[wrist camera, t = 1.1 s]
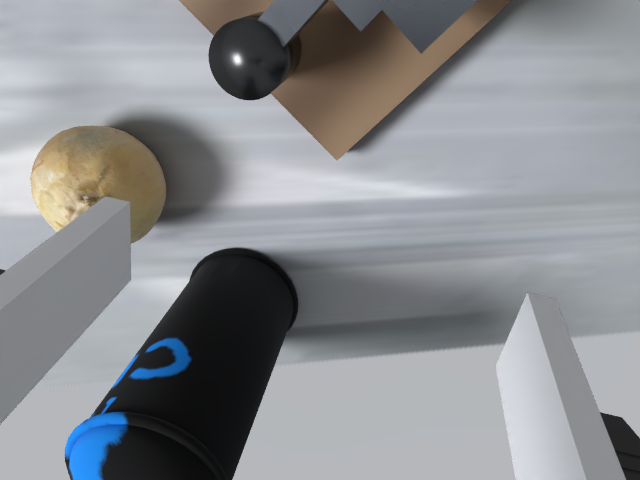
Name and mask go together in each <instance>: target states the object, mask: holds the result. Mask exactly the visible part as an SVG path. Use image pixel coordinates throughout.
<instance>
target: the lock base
mask: <svg viewBox="0 0 640 480" xmlns="http://www.w3.org/2000/svg"><path fill="white" fill-rule="evenodd" d="M179 1H180V2H181V3H182V4H183V5H184V6H185V7H186V8H187V9H188V10H189V11H190V12H191V13H192V14H193V15H194V16H195V17H196V18H197V19H198V20H199V21H200V22H201V23H202V24H203V25H204V26H205V27H206V28H207V29H208V30H209V31H210V32H211V33H212V34H213V35H215V33H216V32H217V31H218V30H219V29H220V28H221V27H222V26H223V25H224V24H226V23H228V22H230V21H233V20H236V19H239V18H242V17H245V16H249V15H252V14H255V13H258V12H265V11H266V9H267V8H268V7H269V6H270V5H271V3H272V2H273V1H274V0H179ZM511 1H512V0H477V1H476V2H475V3H474V4H473V5H472V6H471V7H470V8H469V9H468V10H467V11H466V12H465V13H464V14H463V15H462V16H461V17H459V18H458V19H457V20H456V21H455V22H454V23H453V24H452V25H451V26H450V27H449V28H448V29H447V30H446V31H445V32H444V33H443V34H442V35H440V36H439V37H438V38H437V39H436V40H435V41H434V42H433V43H432V44H431V45H430V46H429V47H428V48H427V49H426V50H425V51H424V52H423V53H420V52H419V51H418V50H417V49H416V48H415V47H414V45H413V44H412V43H411V42H410V41H409V40H408V39H407V37H406V36H405V35H404V34H403V33H402V32H401V31H400V30H399V28H398V27H397V26H396V25H395V24H394V23H393V22H392V20H391V19H390V18H389V17H388V16H387V15H386V14H385V13H384V11H383V10H381V11H380V12H379V13H378V14H377V15H376V16H375V17H374V18H373V19H372V20H371V22H370V23H369V24H368V25H367V26H366V27H365V28H364V29H363V30H362V31H361V32H360V30H359V29H358V28H357V27H356V26H355V25H354V24H353V23H352V22H351V20H350V19H349V18H348V17H347V16H346V15H345V14H344V13H343V12H342V11H341V9H340V8H339V7H338V6H337V5H336V4H335V3H334V2H333V1H332V0H329V1H328V2H327V3H326V4H325V5H324V6H323V8H322V9H321V10H320V11H319V12H318V13H317V14H316V15H315V16H314V18H313V19H312V20H311V21H310V22H309V23H308V24H307V25H306V26H305V28H304V29H303V30H302V31H301V32H300V33H299V37H300V40H301V46H302V54H301V59H300V63H299V65H298V67H297V69H296V70H295V72H294V73H293V74H292V75H291V76H290V77H289V78H288V79H286V80H285V81H284V82H283V83H282V84H281V85H279V86H278V87H277V88H276V89H275V90H274V91H272V92H271V94H272V95H273V96H274V97H275V98H276V99H277V100H278V101H279V102H280V103H281V104H282V105H283V106H284V107H285V108H286V109H287V110H288V111H289V112H290V113H291V114H292V116H293V117H294V118H295V119H296V120H297V121H298V122H299V123H300V124H301V125H302V126H303V127H304V128H305V129H306V130H307V131H308V132H309V133H310V134H311V135H312V136H313V137H314V138H315V139H316V140H317V141H318V142H319V143H320V144H321V145H322V146H323V147H324V148H325V149H326V150H327V151H328V152H329V153H330V154H331V155H332V156H333V157H334V158H335V159H336V160H338V159H339V158H340V157H341V156H343V155H344V154H345V153H346V152H347V151H348V150H349V149H350V148H351V147H352V146H353V145H355V144H356V143H357V142H358V141H359V140H360V139H361V138H362V137H363V136H364V135H365V134H367V133H368V132H369V131H370V130H371V129H372V128H373V127H374V126H375V125H376V124H378V123H379V122H380V121H381V120H382V119H383V118H384V117H385V116H386V115H387V114H388V113H390V112H391V111H392V110H393V109H394V108H395V107H396V106H397V105H398V104H399V103H400V102H402V101H403V100H404V99H405V98H406V97H407V96H408V95H409V94H410V93H411V92H412V91H414V90H415V89H416V88H417V87H418V86H419V85H420V84H421V83H422V82H423V81H425V80H426V79H427V78H428V77H429V76H430V75H431V74H432V73H433V72H434V71H435V70H437V69H438V68H439V67H440V66H441V65H442V64H443V63H444V62H445V61H446V60H447V59H449V58H450V57H451V56H452V55H453V54H454V53H455V52H456V51H457V50H458V49H459V48H461V47H462V46H463V45H464V44H465V43H466V42H467V41H468V40H469V39H470V38H472V37H473V36H474V35H475V34H476V33H477V32H478V31H479V30H480V29H481V28H482V27H484V26H485V25H486V24H487V23H488V22H489V21H490V20H491V19H492V18H493V17H494V16H496V15H497V14H498V13H499V12H500V11H501V10H502V9H503V8H504V7H505V6H506V5H508V4H509V3H510V2H511Z"/></svg>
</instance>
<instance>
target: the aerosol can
mask: <svg viewBox="0 0 640 480" xmlns="http://www.w3.org/2000/svg"><path fill="white" fill-rule="evenodd" d="M297 311H298V299H297V294H296V290H295V288H294V286H293V284H292V281H291V280H290V278H289V277H288V276H287V274H286V273H285V272H284V271H283V270H282V269H281V268H280V267H279V266H278V265H277V264H276V263H274V262H273V261H271V260H270V259H269V258H267V257H265V256H263V255H261V254H258V253H256V252H252V251H249V250H243V249H224V250H221V251H217V252H214V253H212V254H210V255H208V256H206V257H205V258H204V259H202V260H201V261H200V262H199V263H198V264H197V266H196V267H195V268H194V270H193V272H192V275H191V277H190V281H189V283H188V284H187V286H186V287H185V288H184V290H183V291H182V292H181V294H180V295H179V297H178V298H177V299H176V301H175V302H174V303H173V305H172V306H171V308H170V309H169V310H168V312H167V313H166V314H165V316H164V317H163V318H162V320H161V321H160V323H159V324H158V325H157V327H156V328H155V329H154V331H153V332H152V333H151V335H150V336H149V338H148V339H147V340H146V342H145V343H144V344H143V346H142V347H141V349H140V350H139V351H138V353H137V354H136V355H135V357H134V358H133V359H132V361H131V362H130V364H129V365H128V366H127V368H126V369H125V370H124V372H123V373H122V375H121V376H120V377H119V379H118V380H117V381H116V383H115V384H114V386H113V387H112V388H111V390H110V391H109V392H108V394H107V395H106V396H105V398H104V399H103V401H102V402H101V403H100V405H99V406H98V407H97V409H96V410H95V412H94V413H93V414H92V416H91V417H90V418H89V419H87V420H85V421H84V422H83V423H81V424H80V425H79V426H77V427H76V428H75V429H74V430H73V432H72V433H71V435H70V436H69V438H68V441H67V444H66V447H65V462H66V466H67V469H68V473H69V475H70V479H71V480H232V479H233V476H234V473H235V471H236V467H237V465H238V463H239V460H240V457H241V454H242V452H243V449H244V446H245V444H246V441H247V438H248V435H249V433H250V430H251V427H252V425H253V422H254V419H255V417H256V414H257V411H258V408H259V406H260V403H261V400H262V398H263V395H264V392H265V390H266V387H267V384H268V381H269V379H270V376H271V373H272V371H273V368H274V365H275V363H276V360H277V357H278V354H279V352H280V349H281V346H282V344H283V341H284V338H285V335H286V333H287V331H288V330H289V329H290V328H291V326H292V325H293V323H294V321H295V319H296V315H297Z"/></svg>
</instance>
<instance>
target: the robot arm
mask: <svg viewBox="0 0 640 480" xmlns="http://www.w3.org/2000/svg"><path fill="white" fill-rule="evenodd" d="M130 280H131V236H130V202H128V201H124V200H120V199H115V198H111V197H106V196H105V197H103V198H102V199H101V200H100V201H98V202H97V203H96V204H94V205H93V206H92V207H90V208H89V209H88V210H86V211H85V212H84V213H82V214H81V215H80V216H78V217H77V218H76V219H74V220H73V221H72V222H70V223H69V224H68V225H66V226H65V227H64V228H62V229H61V230H60V231H58V232H57V233H56V234H54V235H53V236H52V237H50V238H49V239H48V240H46V241H45V242H44V243H42V244H41V245H40V246H38V247H37V248H36V249H34V250H33V251H32V252H30V253H29V254H28V255H26V256H25V257H24V258H22V259H21V260H20V261H18V262H17V263H16V264H14V265H13V266H12V267H10V268H9V269H8V270H6V271H5V270H1V269H0V424H1V423H2V422H3V421H4V420H5V419H6V418H7V416H8V415H9V414H10V413H11V412H12V411H13V410H14V409H15V408H16V407H17V405H18V404H19V403H20V402H21V401H22V400H23V399H24V398H25V397H26V395H27V394H28V393H29V392H30V391H31V390H32V389H33V388H34V387H35V386H36V384H37V383H38V382H39V381H40V380H41V379H42V378H43V377H44V376H45V374H46V373H47V372H48V371H49V370H50V369H51V368H52V367H53V366H54V364H55V363H56V362H57V361H58V360H59V359H60V358H61V357H62V356H63V355H64V353H65V352H66V351H67V350H68V349H69V348H70V347H71V346H72V345H73V343H74V342H75V341H76V340H77V339H78V338H79V337H80V336H81V335H82V334H83V332H84V331H85V330H86V329H87V328H88V327H89V326H90V325H91V324H92V322H93V321H94V320H95V319H96V318H97V317H98V316H99V315H100V314H101V312H102V311H103V310H104V309H105V308H106V307H107V306H108V305H109V304H110V303H111V301H112V300H113V299H114V298H115V297H116V296H117V295H118V294H119V293H120V291H121V290H122V289H123V288H124V287H125V286H126V285H127V284H128V283H129V282H130ZM496 371H497V377H498V383H499V389H500V394H501V399H502V405H503V411H504V416H505V421H506V427H507V433H508V438H509V444H510V450H511V455H512V461H513V466H514V472H515V478H516V480H640V438H639V437H638V436H637V435H636V434H635V432H634V431H633V430H632V429H631V428H630V426H629V425H628V424H627V423H626V422H625V421H624V420H623V418H621V417H617V416H613V415H609V414H604V413H601V412H599V409H598V407H597V404H596V402H595V399H594V396H593V394H592V391H591V389H590V386H589V384H588V381H587V379H586V376H585V374H584V371H583V368H582V366H581V363H580V361H579V358H578V356H577V353H576V350H575V348H574V345H573V343H572V340H571V338H570V335H569V333H568V330H567V327H566V325H565V322H564V320H563V317H562V315H561V312H560V310H559V307H558V304H557V302H556V299H555V298H550V297H546V296H542V295H537V294H533V293H528V292H527V294H526V297H525V299H524V301H523V304H522V306H521V308H520V311H519V313H518V315H517V318H516V320H515V322H514V325H513V327H512V329H511V332H510V334H509V336H508V339H507V341H506V343H505V346H504V348H503V350H502V353H501V355H500V357H499V360H498V362H497V364H496Z"/></svg>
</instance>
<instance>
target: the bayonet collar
mask: <svg viewBox="0 0 640 480" xmlns="http://www.w3.org/2000/svg"><path fill="white" fill-rule="evenodd" d="M328 1H329V0H274V1H273V2H272V3H271V5H270V6H269V7H268V8H267V9H266V11H265V12H258V13H255V14H252V15H249V16H245V17H242V18H239V19H236V20H233V21H230V22H228V23H226V24H224V25H223V26H222V27H221V28H220V29H219V30H218V31H217V32H216V33H215V35H214V37H213V39H212V41H211V44H210V48H209V63H210V68H211V71H212V74H213V76H214V78H215V79H216V81H217V82H218V84H219V85H220V86H221V87H222V88H223V89H224V90H225V91H226V92H227V93H229V94H230V95H232V96H234V97H236V98H239V99H243V100H257V99H260V98H263V97H265V96H267V95H269V94H270V93H271V92H272V91H274V90H275V89H276V88H277V87H278V86H279V85H281V84H282V83H283V82H284V81H285V80H286V79H288V78H289V77H290V76H291V75H292V74H293V73H294V72H295V70H296V69H297V67H298V65H299V63H300V59H301V54H302V46H301V40H300V37H299V33H300V32H301V31H302V30H303V29H304V28H305V26H306V25H307V24H308V23H309V22H310V21H311V20H312V19H313V18H314V16H315V15H316V14H317V13H318V12H319V11H320V10H321V9H322V8H323V6H324V5H325V4H326V3H327V2H328ZM332 1H333V2H334V3H335V4H336V5H337V6H338V7H339V8H340V9H341V11H342V12H343V13H344V14H345V15H346V16H347V17H348V18H349V19H350V20H351V22H352V23H353V24H354V25H355V26H356V27H357V28H358V29H359V30H360V32H361V31H362V30H363V29H364V28H365V27H366V26H367V25H368V24H369V23H370V22H371V20H372V19H373V18H374V17H375V16H376V15H377V14H378V13H379V12H380V11H381V10H383V11H384V13H385V14H386V15H387V16H388V17H389V18H390V19H391V20H392V22H393V23H394V24H395V25H396V26H397V27H398V28H399V30H400V31H401V32H402V33H403V34H404V35H405V36H406V37H407V39H408V40H409V41H410V42H411V43H412V44H413V45H414V47H415V48H416V49H417V50H418V51H419V52H420V53H423V52H424V51H425V50H426V49H427V48H428V47H429V46H430V45H431V44H432V43H433V42H434V41H435V40H436V39H437V38H438V37H439V36H440V35H442V34H443V33H444V32H445V31H446V30H447V29H448V28H449V27H450V26H451V25H452V24H453V23H454V22H455V21H456V20H457V19H458V18H459V17H461V16H462V15H463V14H464V13H465V12H466V11H467V10H468V9H469V8H470V7H471V6H472V5H473V4H474V3H475V2H476V1H477V0H332Z"/></svg>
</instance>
